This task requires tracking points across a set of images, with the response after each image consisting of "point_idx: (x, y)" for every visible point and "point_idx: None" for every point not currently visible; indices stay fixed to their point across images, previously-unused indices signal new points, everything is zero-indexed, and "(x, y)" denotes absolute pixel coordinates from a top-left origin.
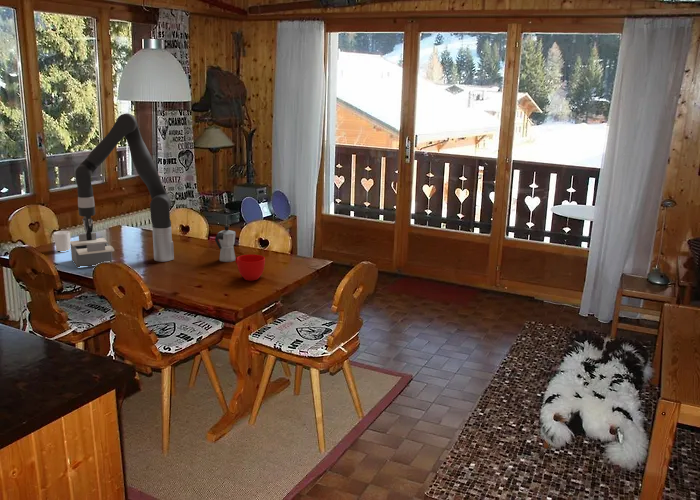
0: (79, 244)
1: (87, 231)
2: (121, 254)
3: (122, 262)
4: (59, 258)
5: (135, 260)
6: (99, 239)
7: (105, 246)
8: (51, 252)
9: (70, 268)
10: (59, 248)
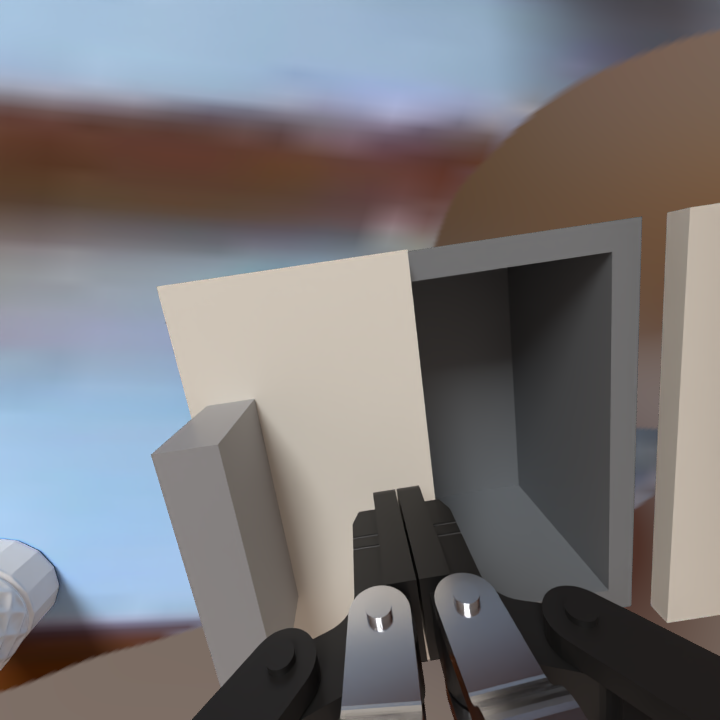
0: None
1: (634, 714)
2: (207, 130)
3: (484, 148)
4: None
5: (461, 10)
6: (253, 355)
7: (706, 290)
8: (46, 646)
9: None
10: (30, 630)
